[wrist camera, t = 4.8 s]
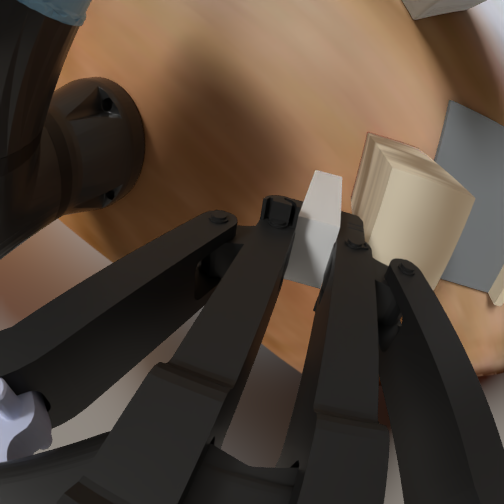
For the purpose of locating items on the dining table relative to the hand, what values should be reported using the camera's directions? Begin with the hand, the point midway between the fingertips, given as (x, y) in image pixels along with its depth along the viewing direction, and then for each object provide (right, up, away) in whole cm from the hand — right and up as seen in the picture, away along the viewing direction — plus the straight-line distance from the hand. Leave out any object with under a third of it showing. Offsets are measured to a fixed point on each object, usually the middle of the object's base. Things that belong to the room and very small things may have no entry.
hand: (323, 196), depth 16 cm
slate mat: (+17, +1, +5) cm, 18 cm away
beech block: (+7, +4, +7) cm, 10 cm away
